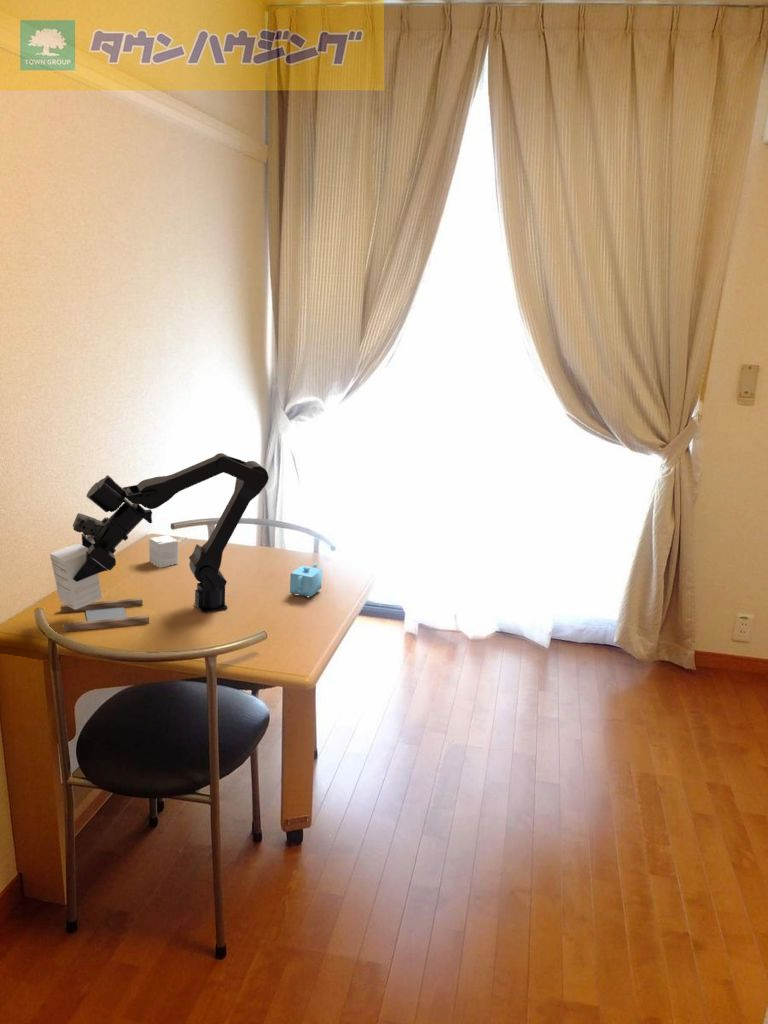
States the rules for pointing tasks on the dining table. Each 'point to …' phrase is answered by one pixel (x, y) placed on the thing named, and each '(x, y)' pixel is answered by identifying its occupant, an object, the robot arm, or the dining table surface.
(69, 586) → the supplement box
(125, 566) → the dining table surface
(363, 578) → the dining table surface
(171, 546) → the skincare box
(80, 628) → the guide rails
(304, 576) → the pale blue boxy block
